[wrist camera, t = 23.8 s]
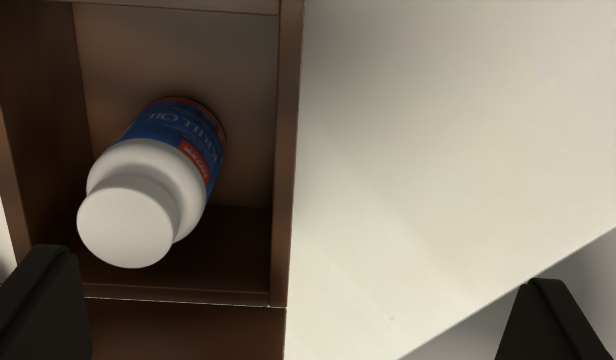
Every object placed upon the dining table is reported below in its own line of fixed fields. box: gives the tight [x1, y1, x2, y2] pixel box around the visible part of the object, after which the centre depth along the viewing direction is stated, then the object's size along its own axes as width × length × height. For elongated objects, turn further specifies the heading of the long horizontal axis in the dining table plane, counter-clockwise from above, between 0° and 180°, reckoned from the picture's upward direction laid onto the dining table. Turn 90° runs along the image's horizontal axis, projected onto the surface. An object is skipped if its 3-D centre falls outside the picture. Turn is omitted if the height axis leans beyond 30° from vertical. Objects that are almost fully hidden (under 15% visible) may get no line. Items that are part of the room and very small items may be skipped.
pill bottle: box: [77, 98, 225, 268], centre depth 26 cm, size 6×5×10 cm
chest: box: [0, 0, 305, 308], centre depth 26 cm, size 15×13×9 cm
